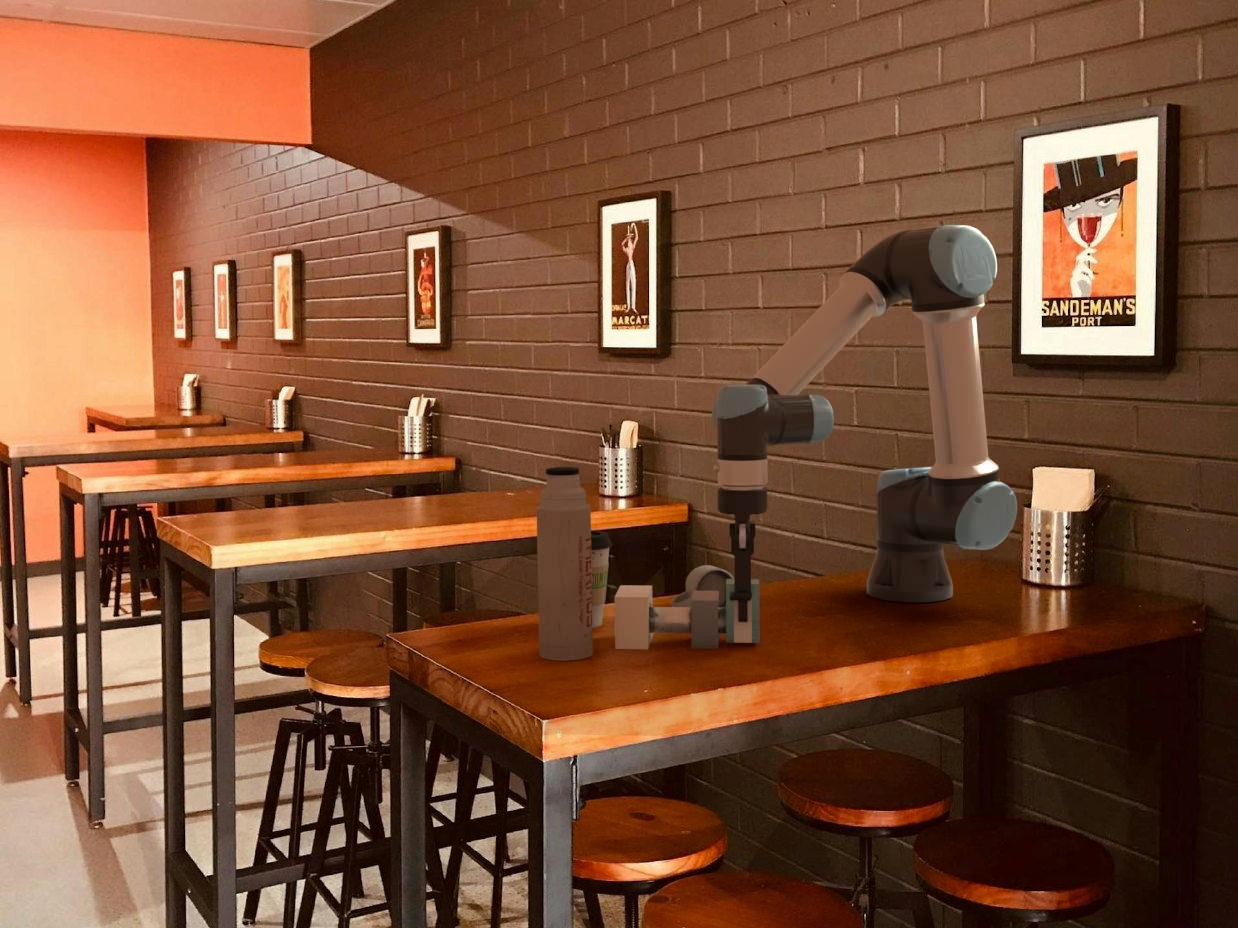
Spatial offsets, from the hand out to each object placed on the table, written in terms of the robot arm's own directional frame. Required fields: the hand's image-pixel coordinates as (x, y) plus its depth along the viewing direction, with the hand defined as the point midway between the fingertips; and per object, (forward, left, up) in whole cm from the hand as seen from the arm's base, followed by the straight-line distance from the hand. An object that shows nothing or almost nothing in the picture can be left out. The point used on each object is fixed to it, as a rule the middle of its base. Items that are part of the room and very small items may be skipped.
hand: (742, 637), depth 195 cm
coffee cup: (+26, -12, -1) cm, 29 cm away
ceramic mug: (+7, -24, -1) cm, 25 cm away
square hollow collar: (+6, 0, -1) cm, 6 cm away
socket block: (+17, 0, -1) cm, 17 cm away
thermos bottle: (+26, +8, -1) cm, 27 cm away
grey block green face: (+7, 0, 0) cm, 7 cm away
